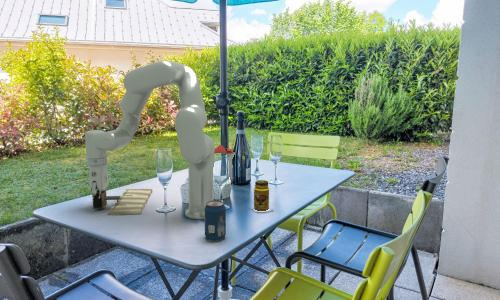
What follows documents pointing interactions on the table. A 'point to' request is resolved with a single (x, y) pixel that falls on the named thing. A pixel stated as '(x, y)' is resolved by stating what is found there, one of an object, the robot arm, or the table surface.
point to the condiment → (261, 195)
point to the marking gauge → (105, 198)
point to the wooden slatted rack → (131, 202)
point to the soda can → (215, 220)
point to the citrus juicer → (231, 154)
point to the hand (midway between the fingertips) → (100, 204)
